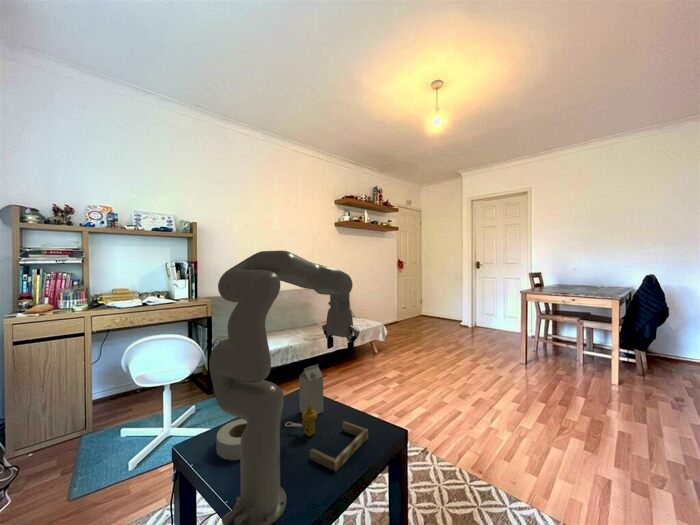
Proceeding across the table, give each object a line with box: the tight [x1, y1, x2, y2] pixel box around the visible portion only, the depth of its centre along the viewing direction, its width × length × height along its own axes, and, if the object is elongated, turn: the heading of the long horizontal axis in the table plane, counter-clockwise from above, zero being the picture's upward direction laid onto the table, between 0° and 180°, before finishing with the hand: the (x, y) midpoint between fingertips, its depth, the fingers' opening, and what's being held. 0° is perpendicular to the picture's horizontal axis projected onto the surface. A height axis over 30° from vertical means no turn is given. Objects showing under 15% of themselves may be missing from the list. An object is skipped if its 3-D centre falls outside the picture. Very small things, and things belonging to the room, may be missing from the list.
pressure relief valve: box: [284, 406, 318, 437], centre depth 102 cm, size 6×12×10 cm, turn 79°
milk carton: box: [299, 364, 324, 415], centre depth 117 cm, size 7×7×19 cm
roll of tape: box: [215, 418, 247, 461], centre depth 96 cm, size 16×16×6 cm
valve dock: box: [309, 420, 369, 473], centre depth 94 cm, size 19×10×3 cm, turn 147°
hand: (340, 350), depth 108 cm, fingers open, 9 cm apart
